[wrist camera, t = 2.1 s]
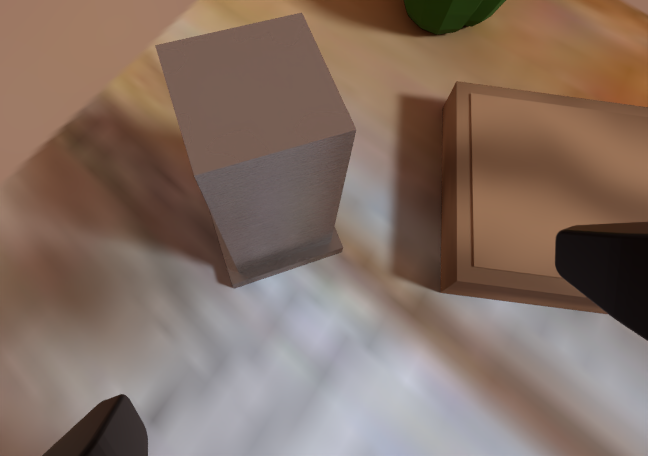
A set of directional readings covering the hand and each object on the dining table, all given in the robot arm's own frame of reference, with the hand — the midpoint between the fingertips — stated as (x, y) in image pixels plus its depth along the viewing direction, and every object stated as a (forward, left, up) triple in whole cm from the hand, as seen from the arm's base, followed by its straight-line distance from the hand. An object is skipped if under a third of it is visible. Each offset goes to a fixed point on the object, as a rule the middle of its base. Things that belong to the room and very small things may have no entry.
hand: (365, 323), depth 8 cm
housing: (+7, +5, -13) cm, 16 cm away
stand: (+12, -10, -13) cm, 21 cm away
